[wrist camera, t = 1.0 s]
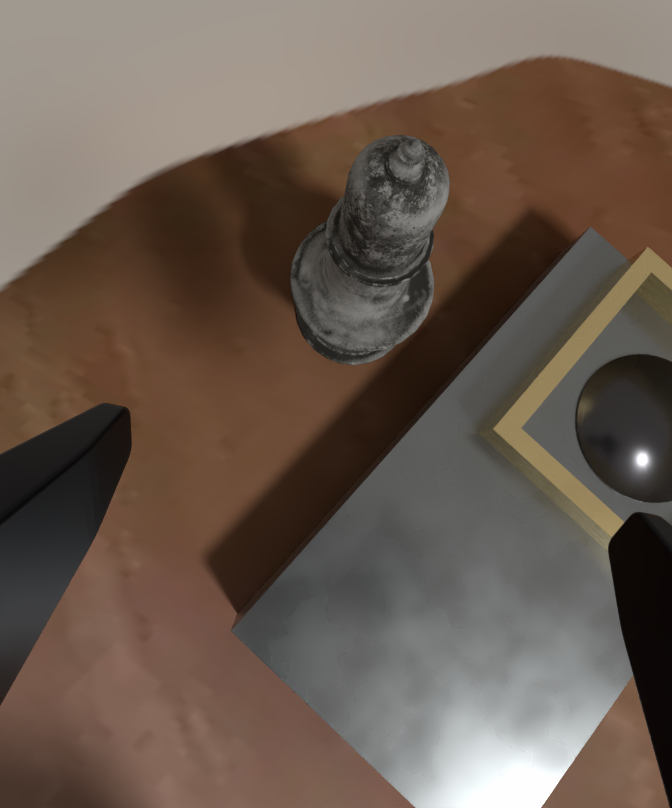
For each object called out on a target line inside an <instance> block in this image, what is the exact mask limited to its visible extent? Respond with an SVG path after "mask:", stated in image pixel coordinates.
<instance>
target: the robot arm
mask: <svg viewBox="0 0 672 808" xmlns="http://www.w3.org/2000/svg"><path fill="white" fill-rule="evenodd" d="M131 446H132V438H131V417H130V412H129V409H128V408H126V407H124V406H119V405H114V404H109V403H102V404H100V405H97V406H95V407H93V408H91V409H89V410H87V411H85V412H83V413H81V414H79V415H77V416H75V417H73V418H72V419H70V420H68V421H66V422H64V423H62V424H60V425H58V426H56V427H54V428H52V429H50V430H48V431H46V432H44V433H42V434H40V435H38V436H36V437H34V438H32V439H30V440H28V441H26V442H24V443H22V444H20V445H18V446H16V447H14V448H12V449H10V450H8V451H6V452H4V453H2V454H0V705H1V703H2V702H3V700H4V698H5V696H6V695H7V693H8V691H9V689H10V687H11V686H12V684H13V682H14V680H15V679H16V677H17V675H18V673H19V672H20V670H21V668H22V666H23V664H24V663H25V661H26V659H27V657H28V656H29V654H30V652H31V650H32V648H33V647H34V645H35V643H36V641H37V640H38V638H39V636H40V634H41V633H42V631H43V629H44V627H45V625H46V624H47V622H48V620H49V618H50V617H51V615H52V613H53V611H54V609H55V608H56V606H57V604H58V602H59V601H60V599H61V597H62V595H63V594H64V592H65V590H66V588H67V586H68V585H69V583H70V581H71V579H72V578H73V576H74V574H75V572H76V571H77V569H78V567H79V565H80V563H81V562H82V560H83V558H84V556H85V555H86V553H87V551H88V549H89V547H90V546H91V544H92V542H93V540H94V538H95V536H96V534H97V532H98V530H99V528H100V525H101V523H102V521H103V518H104V516H105V514H106V511H107V509H108V506H109V504H110V502H111V499H112V497H113V494H114V492H115V490H116V487H117V485H118V482H119V480H120V478H121V475H122V473H123V470H124V468H125V466H126V463H127V461H128V458H129V456H130V452H131ZM608 555H609V561H610V567H611V573H612V579H613V585H614V591H615V597H616V603H617V609H618V615H619V620H620V625H621V631H622V635H623V639H624V643H625V647H626V651H627V654H628V658H629V662H630V665H631V669H632V672H633V676H634V680H635V683H636V687H637V691H638V694H639V698H640V701H641V705H642V709H643V712H644V716H645V720H646V723H647V727H648V730H649V734H650V738H651V741H652V745H653V749H654V752H655V756H656V760H657V763H658V767H659V770H660V774H661V778H662V781H663V785H664V789H665V792H666V796H667V799H668V803H669V807H670V808H672V525H671V524H669V523H668V522H667V521H666V520H665V519H663V518H662V517H660V516H658V515H654V514H649V513H644V512H635V513H633V514H631V515H630V516H629V517H628V519H627V520H626V521H625V522H624V523H623V525H622V526H621V527H620V528H619V529H618V531H617V532H616V533H615V534H614V535H613V537H612V538H611V539H610V542H609V545H608Z"/></svg>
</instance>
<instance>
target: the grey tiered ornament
mask: <svg viewBox="0 0 672 808" xmlns="http://www.w3.org/2000/svg"><path fill="white" fill-rule="evenodd" d="M449 184H450V180H449V175H448V170H447V168H446V166H445V164H444V162H443V160H442V158H441V157H440V156H439V154H438V153H437V152H436V151H435V150H434V149H433V147H431V146H430V145H428V144H427V143H426V142H424V141H422V140H420V139H417V138H415V137H412V136H405V135H396V136H387V137H384V138H381V139H378V140H375V141H374V142H372V143H371V144H369V145H368V146H366V147H365V148H364V149H363V150H362V151H361V153H360V154H359V155H358V156H357V158H356V159H355V161H354V162H353V165H352V167H351V169H350V172H349V175H348V180H347V185H346V190H345V195H344V197H342V198H341V199H340V200H339V201H338V203H337V204H336V205H335V206H334V208H333V209H332V211H331V213H330V216H329V218H328V220H327V221H325V222H323V223H322V224H320V225H319V226H318V227H316V228H315V229H313V230H312V231H311V232H310V233H309V234H308V235H307V237H306V238H305V239H304V240H303V241H302V243H301V244H300V245H299V247H298V250H297V252H296V254H295V257H294V259H293V261H292V268H291V276H290V284H291V291H292V297H293V301H294V303H295V305H296V314H297V320H298V325H299V327H300V330H301V332H302V334H303V336H304V338H305V339H306V340H307V342H308V343H309V344H310V345H311V347H312V348H313V349H314V350H316V351H317V352H318V353H320V354H321V355H322V356H324V357H325V358H328V359H330V360H333V361H335V362H338V363H342V364H350V365H357V364H364V363H369V362H372V361H374V360H377V359H379V358H381V357H383V356H384V355H385V354H387V353H388V352H389V351H390V350H392V349H393V348H394V346H395V345H397V344H399V343H401V342H403V341H404V340H405V339H406V338H408V337H409V336H410V335H411V334H413V333H414V332H415V331H416V330H417V329H418V327H419V326H420V325H421V323H422V322H423V320H424V319H425V318H426V316H427V314H428V311H429V308H430V306H431V303H432V300H433V290H434V278H433V273H432V268H431V264H430V261H429V257H430V254H431V252H432V249H433V241H434V233H433V228H434V226H435V224H436V223H437V221H438V219H439V217H440V216H441V214H442V212H443V210H444V207H445V205H446V202H447V200H448V194H449Z"/></svg>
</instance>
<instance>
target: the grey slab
mask: <svg viewBox="0 0 672 808" xmlns="http://www.w3.org/2000/svg"><path fill="white" fill-rule="evenodd" d="M635 512H644V513H649V514H654V515H658V516H660V517H662V518H663V519H665V520H666V521H667V522H668V523H669V524H671V525H672V268H671V267H670V266H669V265H668V264H667V263H666V262H664V261H663V260H662V259H661V258H660V257H659V256H658V255H656V254H655V253H654V252H653V251H652V250H651V249H650V248H649V247H647V248H645V249H644V250H642V251H641V252H639V253H638V254H636V255H635V256H633V257H632V258H630V259H629V260H627V259H626V258H625V257H624V256H623V255H622V254H621V253H619V252H618V251H617V250H616V249H615V248H614V247H613V246H612V245H610V244H609V243H608V242H607V241H606V240H605V239H604V238H603V237H601V236H600V235H599V234H598V233H597V232H596V231H595V230H594V229H592V228H591V227H590V228H589V229H587V230H586V231H585V232H584V233H583V234H581V235H580V236H579V237H578V238H577V239H576V240H574V241H573V242H572V243H571V244H570V245H568V246H567V247H566V248H565V249H564V250H563V251H561V252H560V253H559V255H558V256H557V257H556V258H555V259H554V260H553V261H552V262H551V264H550V265H549V266H548V267H547V268H546V269H545V270H544V271H543V273H542V274H541V275H540V276H539V277H538V278H537V279H536V280H535V281H534V283H533V284H532V285H531V286H530V287H529V288H528V289H527V290H526V292H525V293H524V294H523V295H522V296H521V297H520V298H519V299H518V300H517V302H516V303H515V304H514V305H513V306H512V307H511V308H510V309H509V311H508V312H507V313H506V314H505V315H504V316H503V317H502V318H501V320H500V321H499V322H498V323H497V324H496V325H495V326H494V327H493V328H492V330H491V331H490V332H489V333H488V334H487V335H486V336H485V337H484V339H483V340H482V341H481V342H480V343H479V344H478V345H477V346H476V347H475V349H474V350H473V351H472V352H471V353H470V354H469V355H468V356H467V358H466V359H465V360H464V361H463V362H462V363H461V364H460V365H459V367H458V368H457V369H456V370H455V371H454V372H453V373H452V374H451V375H450V377H449V378H448V379H447V380H446V381H445V382H444V383H443V384H442V386H441V387H440V388H439V389H438V390H437V391H436V392H435V393H434V394H433V396H432V397H431V398H430V399H429V400H428V401H427V402H426V403H425V405H424V406H423V407H422V408H421V409H420V410H419V411H418V412H417V413H416V415H415V416H414V417H413V418H412V419H411V420H410V421H409V422H408V424H407V425H406V426H405V427H404V428H403V429H402V430H401V431H400V433H399V434H398V435H397V436H396V437H395V438H394V439H393V440H392V441H391V443H390V444H389V445H388V446H387V447H386V448H385V449H384V450H383V452H382V453H381V454H380V455H379V456H378V457H377V458H376V459H375V460H374V462H373V463H372V464H371V465H370V466H369V467H368V468H367V469H366V471H365V472H364V473H363V474H362V475H361V476H360V477H359V478H358V480H357V481H356V482H355V483H354V484H353V485H352V486H351V487H350V488H349V490H348V491H347V492H346V493H345V494H344V495H343V496H342V497H341V499H340V500H339V501H338V502H337V503H336V504H335V505H334V506H333V507H332V509H331V510H330V511H329V512H328V513H327V514H326V515H325V516H324V518H323V519H322V520H321V521H320V522H319V523H318V524H317V525H316V527H315V528H314V529H313V530H312V531H311V532H310V533H309V534H308V535H307V537H306V538H305V539H304V540H303V541H302V542H301V543H300V544H299V546H298V547H297V548H296V549H295V550H294V551H293V552H292V553H291V554H290V556H289V557H288V558H287V559H286V560H285V561H284V562H283V563H282V565H281V566H280V567H279V568H278V569H277V570H276V571H275V572H274V574H273V575H272V576H271V577H270V578H269V579H268V580H267V581H266V582H265V584H264V585H263V586H262V587H261V588H260V589H259V590H258V591H257V593H256V594H255V595H254V596H253V597H252V598H251V599H250V600H249V601H248V603H247V604H246V605H245V606H244V607H243V608H242V609H241V610H240V612H239V613H238V614H237V616H236V619H235V621H234V624H233V627H232V629H231V632H232V633H234V634H235V635H236V636H237V637H238V638H239V639H240V640H241V641H242V642H243V643H244V644H245V645H246V646H247V647H248V648H249V649H250V650H251V651H252V652H253V653H254V654H255V655H257V656H258V657H259V658H260V659H261V660H262V661H263V662H264V663H265V664H266V665H267V666H268V667H269V668H270V669H271V670H272V671H273V672H274V673H275V674H276V675H277V676H278V677H280V678H281V679H282V680H283V681H284V682H285V683H286V684H287V685H288V686H289V687H290V688H291V689H292V690H293V691H294V692H295V693H296V694H297V695H298V696H299V697H300V698H301V699H303V700H304V701H305V702H306V703H307V704H308V705H309V706H310V707H311V708H312V709H313V710H314V711H315V712H316V713H317V714H318V715H319V716H320V717H321V718H322V719H323V720H324V721H326V722H327V723H328V724H329V725H330V726H331V727H332V728H333V729H334V730H335V731H336V732H337V733H338V734H339V735H340V736H341V737H342V738H343V739H344V740H345V741H346V742H347V743H348V744H350V745H351V746H352V747H353V748H354V749H355V750H356V751H357V752H358V753H359V754H360V755H361V756H362V757H363V758H364V759H365V760H366V761H367V762H368V763H369V764H370V765H371V766H373V767H374V768H375V769H376V770H377V771H378V772H379V773H380V774H381V775H382V776H383V777H384V778H385V779H386V780H387V781H388V782H389V783H390V784H391V785H392V786H393V787H394V788H396V789H397V790H398V791H399V792H400V793H401V794H402V795H403V796H404V797H405V798H406V799H407V800H408V801H409V802H410V803H411V804H412V805H413V806H414V807H415V808H541V806H542V805H543V803H544V802H545V801H546V799H547V798H548V796H549V795H550V793H551V792H552V791H553V789H554V788H555V786H556V785H557V783H558V782H559V781H560V779H561V778H562V776H563V775H564V773H565V772H566V770H567V769H568V768H569V766H570V765H571V763H572V762H573V760H574V759H575V758H576V756H577V755H578V753H579V752H580V750H581V749H582V748H583V746H584V745H585V743H586V742H587V740H588V739H589V738H590V736H591V735H592V733H593V732H594V730H595V729H596V727H597V726H598V725H599V723H600V722H601V720H602V719H603V717H604V716H605V715H606V713H607V712H608V710H609V709H610V707H611V706H612V705H613V703H614V702H615V700H616V699H617V697H618V696H619V695H620V693H621V692H622V690H623V689H624V687H625V686H626V684H627V683H628V682H629V680H630V679H631V677H632V676H633V672H632V669H631V665H630V662H629V658H628V654H627V651H626V647H625V643H624V639H623V635H622V631H621V625H620V620H619V615H618V609H617V603H616V597H615V591H614V585H613V579H612V573H611V567H610V561H609V555H608V545H609V542H610V539H611V538H612V537H613V535H614V534H615V533H616V532H617V531H618V529H619V528H620V527H621V526H622V525H623V523H624V522H625V521H626V520H627V519H628V517H629V516H630V515H631V514H633V513H635Z"/></svg>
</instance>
